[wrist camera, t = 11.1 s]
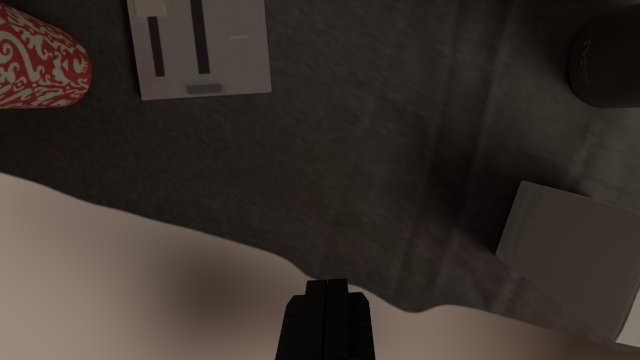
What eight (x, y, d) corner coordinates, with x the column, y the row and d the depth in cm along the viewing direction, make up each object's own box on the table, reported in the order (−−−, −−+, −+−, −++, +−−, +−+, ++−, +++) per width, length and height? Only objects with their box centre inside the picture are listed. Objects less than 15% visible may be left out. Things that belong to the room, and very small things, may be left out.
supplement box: (491, 256, 38) (610, 345, 23) (519, 178, 36) (665, 219, 22) (566, 274, 39) (727, 370, 24) (596, 198, 37) (788, 251, 22)
